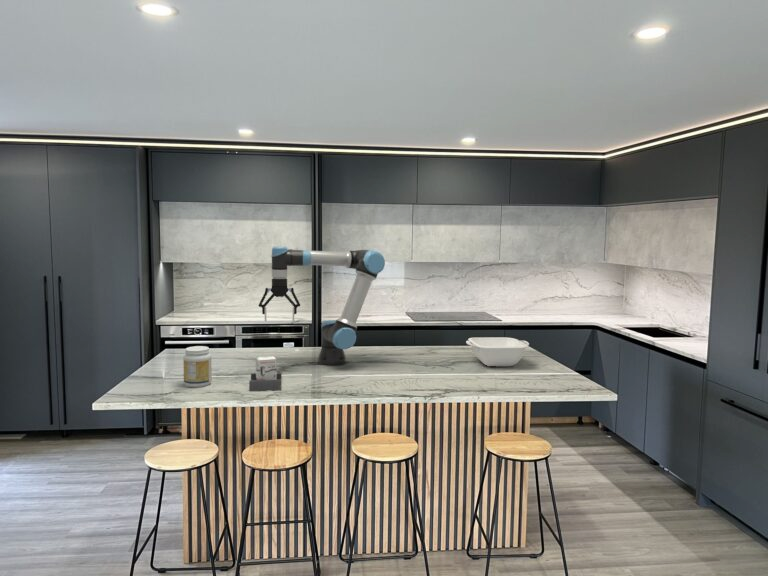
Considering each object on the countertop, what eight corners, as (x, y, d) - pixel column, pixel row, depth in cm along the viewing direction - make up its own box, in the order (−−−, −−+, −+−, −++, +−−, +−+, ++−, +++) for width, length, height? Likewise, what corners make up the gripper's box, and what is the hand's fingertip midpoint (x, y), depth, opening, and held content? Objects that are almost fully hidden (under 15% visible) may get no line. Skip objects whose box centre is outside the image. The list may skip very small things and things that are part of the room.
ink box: (258, 385, 259) (258, 359, 258) (255, 382, 263) (255, 357, 262) (277, 383, 263) (277, 358, 262) (274, 380, 267) (274, 355, 266)
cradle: (281, 381, 271) (281, 372, 271) (281, 390, 257) (281, 380, 257) (251, 382, 269) (251, 373, 268) (249, 391, 255) (249, 381, 255)
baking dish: (473, 370, 300) (473, 346, 299) (460, 358, 328) (460, 336, 327) (535, 370, 304) (537, 346, 302) (517, 358, 332) (518, 336, 331)
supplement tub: (189, 380, 271) (189, 345, 269) (215, 381, 271) (214, 345, 269) (179, 387, 259) (179, 350, 257) (206, 388, 258) (205, 351, 257)
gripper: (304, 277, 288) (304, 319, 290) (253, 277, 283) (254, 319, 285) (305, 278, 280) (305, 321, 282) (253, 278, 276) (253, 322, 278)
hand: (279, 320), depth 284 cm, fingers open, 13 cm apart
